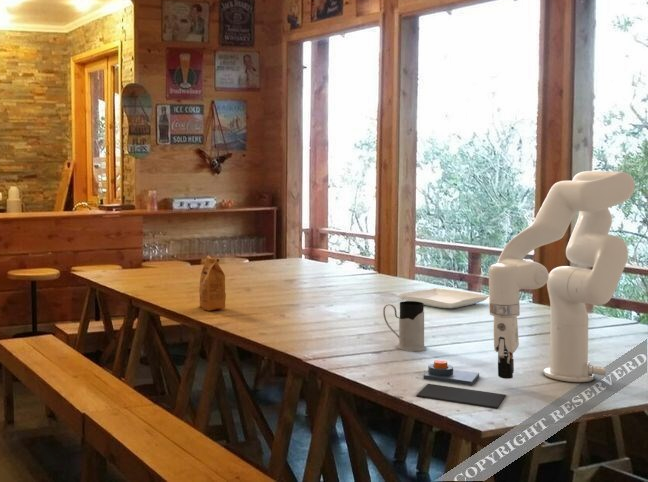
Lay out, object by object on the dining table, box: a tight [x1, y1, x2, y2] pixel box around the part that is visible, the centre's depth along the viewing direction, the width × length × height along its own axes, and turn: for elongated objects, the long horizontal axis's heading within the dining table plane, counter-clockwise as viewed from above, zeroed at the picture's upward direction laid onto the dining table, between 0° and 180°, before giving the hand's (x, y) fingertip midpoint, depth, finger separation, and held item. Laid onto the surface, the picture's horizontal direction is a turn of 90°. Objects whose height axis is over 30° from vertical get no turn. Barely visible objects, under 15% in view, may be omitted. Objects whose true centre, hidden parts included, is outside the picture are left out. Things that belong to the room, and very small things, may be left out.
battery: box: [499, 354, 514, 380], centre depth 217 cm, size 3×3×6 cm
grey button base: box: [423, 363, 480, 387], centre depth 226 cm, size 13×10×3 cm
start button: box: [433, 359, 448, 369], centre depth 228 cm, size 4×4×2 cm
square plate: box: [396, 287, 489, 309], centre depth 336 cm, size 27×27×4 cm
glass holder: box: [382, 300, 427, 352], centre depth 263 cm, size 9×14×15 cm, turn 48°
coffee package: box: [198, 255, 227, 312], centre depth 334 cm, size 10×12×22 cm
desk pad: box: [416, 383, 507, 410], centre depth 210 cm, size 20×12×1 cm, turn 56°
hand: (506, 374), depth 217 cm, fingers closed on battery, 3 cm apart
